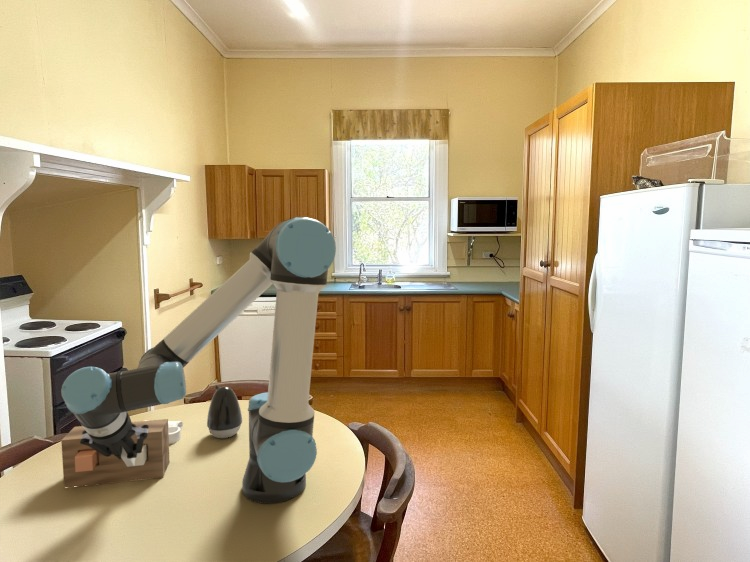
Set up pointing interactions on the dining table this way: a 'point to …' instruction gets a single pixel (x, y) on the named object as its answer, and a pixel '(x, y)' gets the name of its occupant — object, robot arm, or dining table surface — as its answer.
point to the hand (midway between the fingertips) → (131, 460)
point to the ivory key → (141, 456)
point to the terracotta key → (86, 460)
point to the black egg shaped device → (224, 413)
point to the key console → (112, 466)
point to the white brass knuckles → (174, 431)
